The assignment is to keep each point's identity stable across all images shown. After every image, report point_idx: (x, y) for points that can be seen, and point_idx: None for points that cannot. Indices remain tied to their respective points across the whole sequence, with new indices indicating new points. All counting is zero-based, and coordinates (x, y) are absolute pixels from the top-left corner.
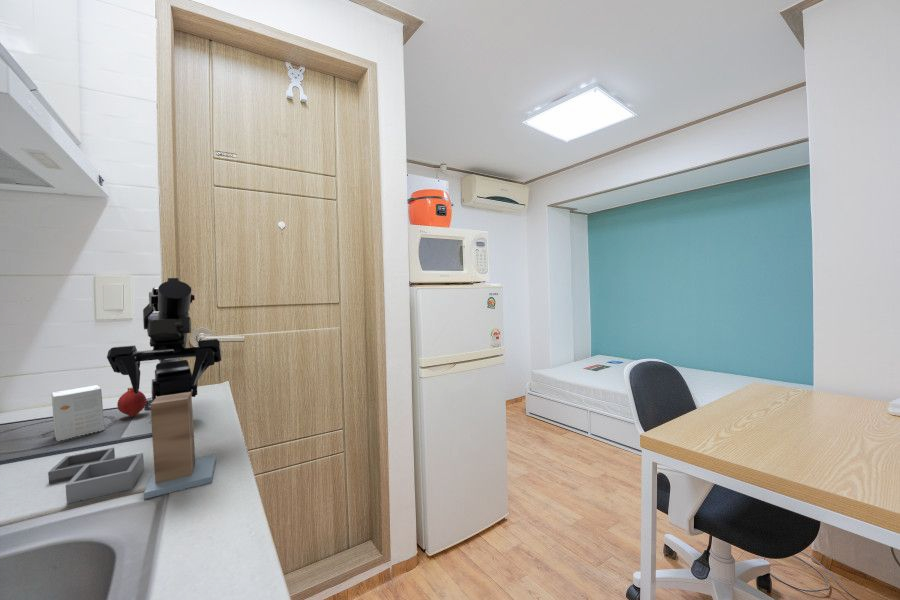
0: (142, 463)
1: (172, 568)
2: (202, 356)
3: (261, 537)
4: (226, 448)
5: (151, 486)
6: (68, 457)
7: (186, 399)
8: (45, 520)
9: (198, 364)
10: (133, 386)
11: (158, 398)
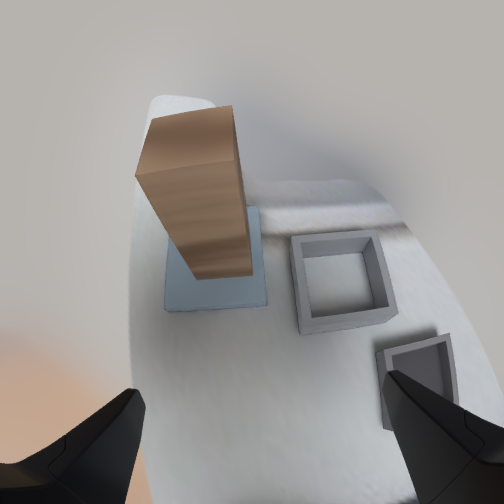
0: (300, 321)
1: None
2: (6, 468)
3: (147, 123)
4: (151, 359)
5: (252, 220)
6: (453, 400)
7: (154, 119)
8: (365, 212)
9: (55, 451)
10: (409, 378)
11: (223, 140)
